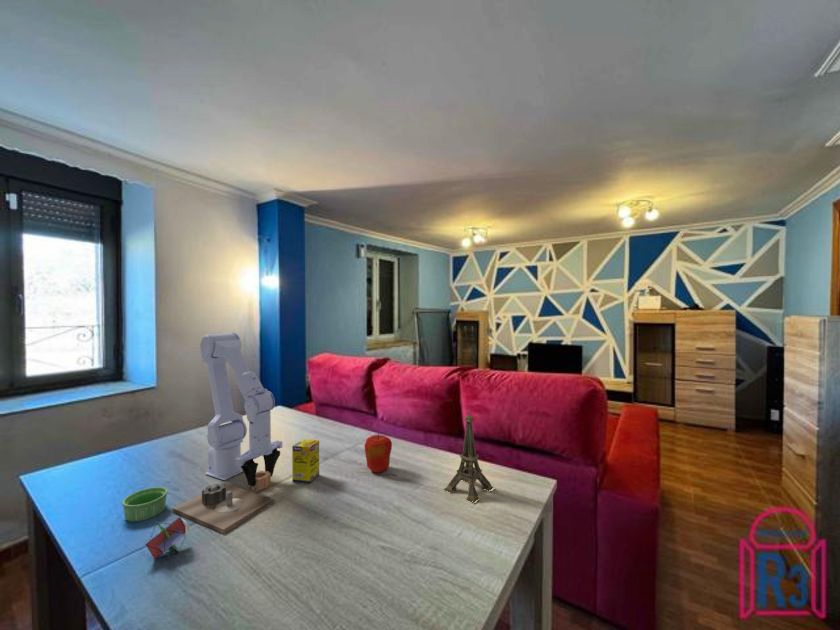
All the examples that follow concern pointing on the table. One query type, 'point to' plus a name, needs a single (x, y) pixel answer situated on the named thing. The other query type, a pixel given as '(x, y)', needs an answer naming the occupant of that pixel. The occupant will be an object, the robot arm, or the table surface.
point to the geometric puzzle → (168, 537)
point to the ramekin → (145, 503)
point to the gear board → (222, 507)
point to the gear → (262, 480)
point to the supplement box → (305, 460)
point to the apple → (378, 453)
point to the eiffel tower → (469, 466)
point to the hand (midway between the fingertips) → (260, 480)
